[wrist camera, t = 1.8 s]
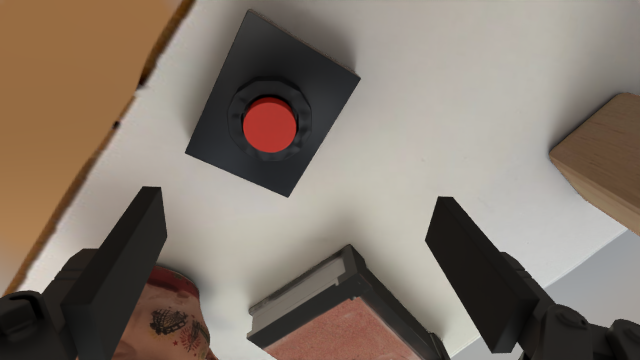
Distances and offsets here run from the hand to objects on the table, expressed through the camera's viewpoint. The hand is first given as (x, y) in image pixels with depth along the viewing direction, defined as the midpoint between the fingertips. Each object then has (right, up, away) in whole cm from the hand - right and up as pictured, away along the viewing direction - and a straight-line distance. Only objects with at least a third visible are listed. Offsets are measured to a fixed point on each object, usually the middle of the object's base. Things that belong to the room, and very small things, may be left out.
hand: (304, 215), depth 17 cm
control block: (-4, +9, +17) cm, 20 cm away
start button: (-4, +7, +14) cm, 16 cm away
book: (+5, -20, +34) cm, 40 cm away
